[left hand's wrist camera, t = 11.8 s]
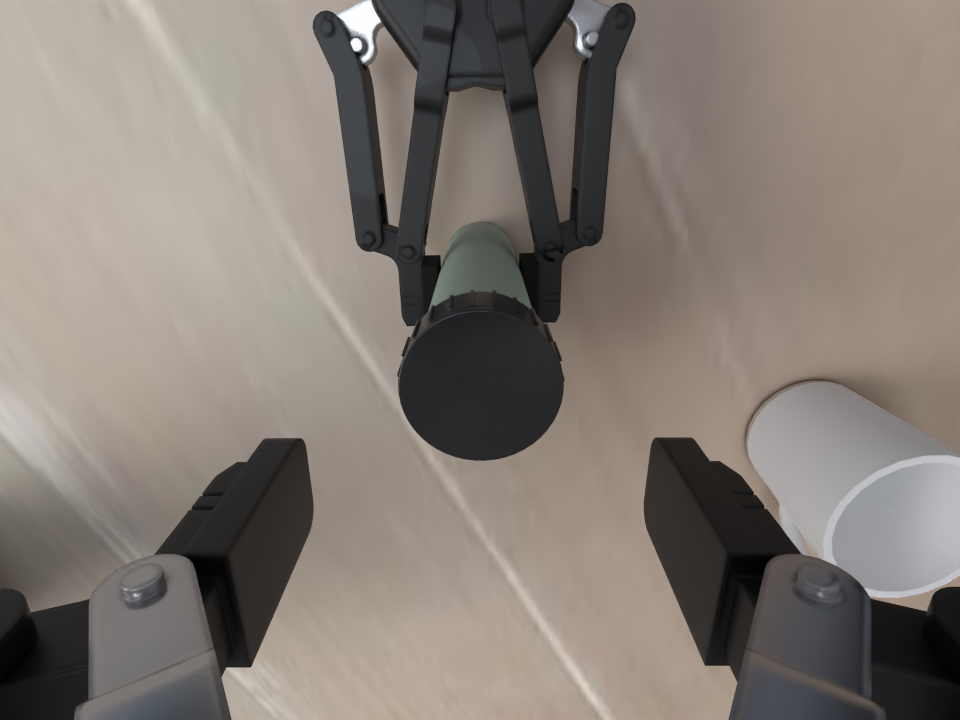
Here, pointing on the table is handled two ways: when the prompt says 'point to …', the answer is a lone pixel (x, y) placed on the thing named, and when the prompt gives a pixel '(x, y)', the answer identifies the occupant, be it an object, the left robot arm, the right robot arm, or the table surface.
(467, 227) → the slim green bottle
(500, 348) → the lid
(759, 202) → the table surface
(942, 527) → the mug
